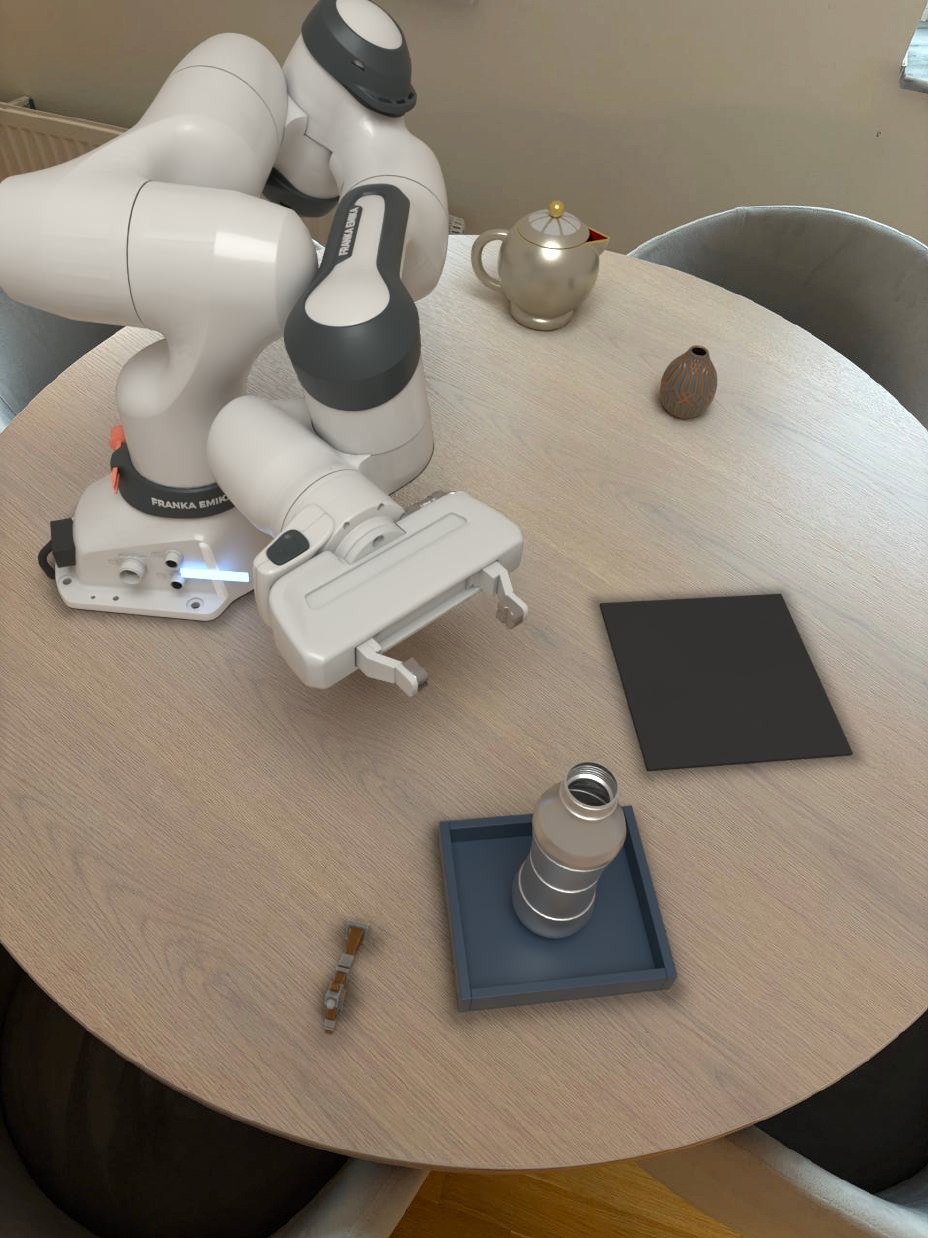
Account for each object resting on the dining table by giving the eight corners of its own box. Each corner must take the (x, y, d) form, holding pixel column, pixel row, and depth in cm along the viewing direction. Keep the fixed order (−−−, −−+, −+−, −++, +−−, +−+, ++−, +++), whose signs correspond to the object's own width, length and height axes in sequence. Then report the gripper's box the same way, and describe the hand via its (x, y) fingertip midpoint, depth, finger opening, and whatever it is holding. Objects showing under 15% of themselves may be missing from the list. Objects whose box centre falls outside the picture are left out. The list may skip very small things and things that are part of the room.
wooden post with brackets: (312, 1040, 69) (318, 996, 67) (342, 959, 76) (347, 917, 74) (336, 1046, 69) (342, 1002, 67) (364, 964, 76) (370, 922, 74)
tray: (458, 1012, 72) (461, 1000, 70) (437, 836, 81) (439, 821, 79) (669, 989, 74) (678, 976, 72) (625, 820, 83) (631, 805, 81)
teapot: (596, 297, 137) (618, 185, 125) (589, 350, 129) (612, 236, 116) (474, 278, 138) (483, 165, 126) (459, 330, 129) (467, 214, 117)
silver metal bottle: (531, 856, 80) (567, 725, 65) (602, 897, 78) (658, 772, 63) (493, 918, 76) (522, 795, 61) (567, 963, 74) (617, 847, 59)
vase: (707, 430, 119) (726, 372, 112) (652, 420, 120) (669, 361, 113) (709, 397, 124) (728, 339, 117) (656, 388, 124) (672, 329, 117)
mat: (647, 771, 87) (648, 769, 86) (599, 605, 99) (600, 602, 99) (851, 755, 89) (853, 753, 89) (780, 595, 102) (781, 593, 102)
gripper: (450, 511, 79) (568, 610, 73) (242, 629, 70) (358, 754, 64) (455, 453, 75) (582, 553, 68) (232, 571, 65) (356, 700, 59)
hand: (472, 651), depth 66 cm, fingers open, 8 cm apart
